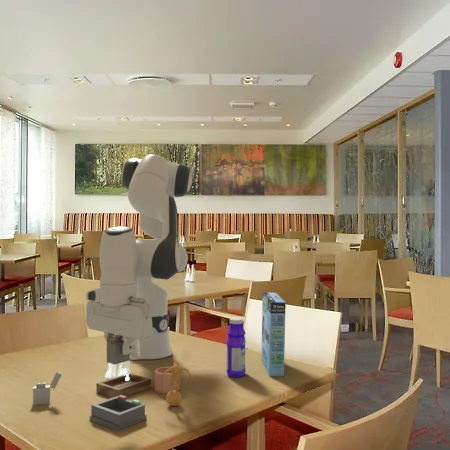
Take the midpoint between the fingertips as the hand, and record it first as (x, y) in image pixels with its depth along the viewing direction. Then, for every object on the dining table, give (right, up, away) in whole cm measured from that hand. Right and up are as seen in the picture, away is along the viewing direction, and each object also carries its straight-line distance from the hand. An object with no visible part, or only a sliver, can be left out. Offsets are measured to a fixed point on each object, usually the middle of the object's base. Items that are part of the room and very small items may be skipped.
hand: (118, 352), depth 126 cm
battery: (0, -2, 0) cm, 2 cm away
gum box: (+41, -16, +44) cm, 62 cm away
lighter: (-21, -16, +11) cm, 29 cm away
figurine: (+13, -16, +9) cm, 22 cm away
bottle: (+29, -16, +36) cm, 49 cm away
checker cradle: (0, -16, 0) cm, 16 cm away
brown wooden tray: (-3, -16, +21) cm, 27 cm away
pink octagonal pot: (+9, -16, +22) cm, 29 cm away
